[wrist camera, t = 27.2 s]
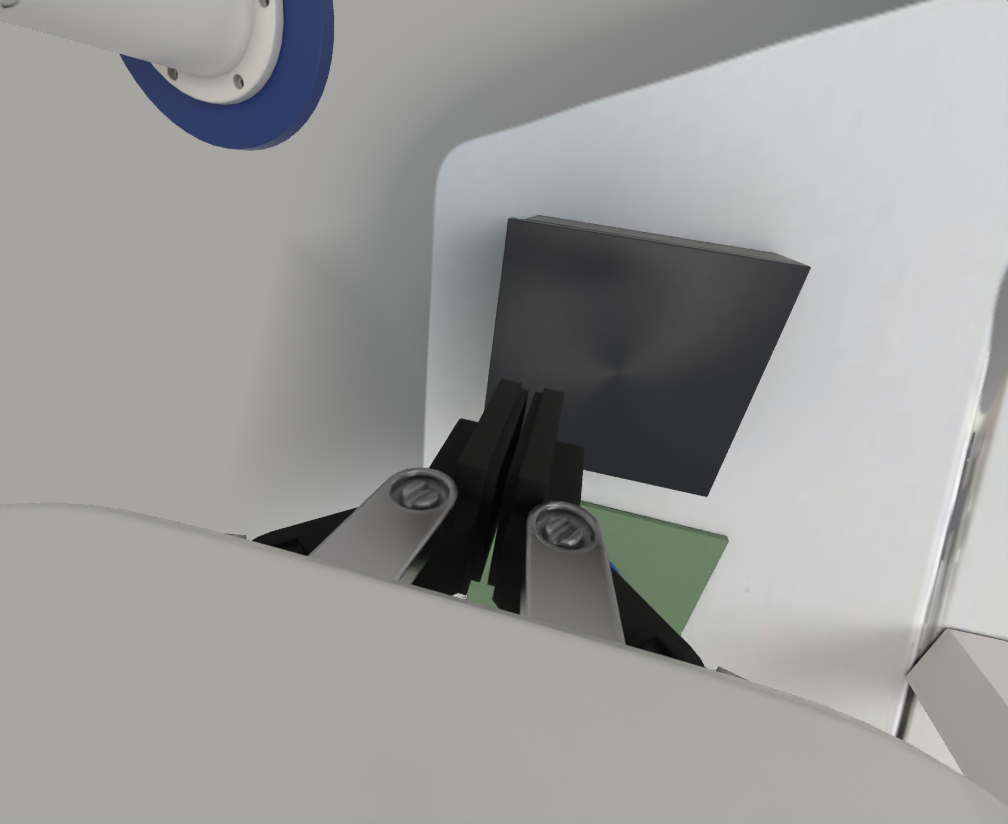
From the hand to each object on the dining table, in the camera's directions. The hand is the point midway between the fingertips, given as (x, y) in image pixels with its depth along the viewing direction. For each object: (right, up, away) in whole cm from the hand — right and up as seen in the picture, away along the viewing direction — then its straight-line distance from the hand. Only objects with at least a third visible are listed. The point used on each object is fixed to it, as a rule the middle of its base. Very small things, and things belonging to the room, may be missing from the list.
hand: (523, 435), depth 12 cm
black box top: (+7, +3, +17) cm, 18 cm away
